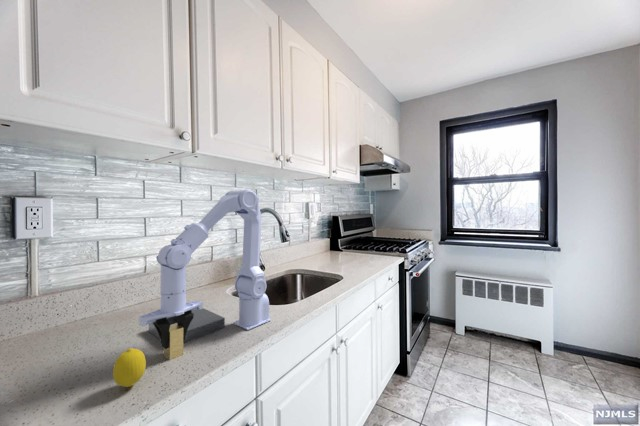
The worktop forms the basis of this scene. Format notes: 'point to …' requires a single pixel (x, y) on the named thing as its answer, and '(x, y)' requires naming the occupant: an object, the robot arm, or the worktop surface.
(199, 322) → the peg hole base
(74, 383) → the worktop surface
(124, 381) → the lemon
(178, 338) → the tan wooden block
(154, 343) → the worktop surface
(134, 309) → the worktop surface
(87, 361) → the worktop surface
